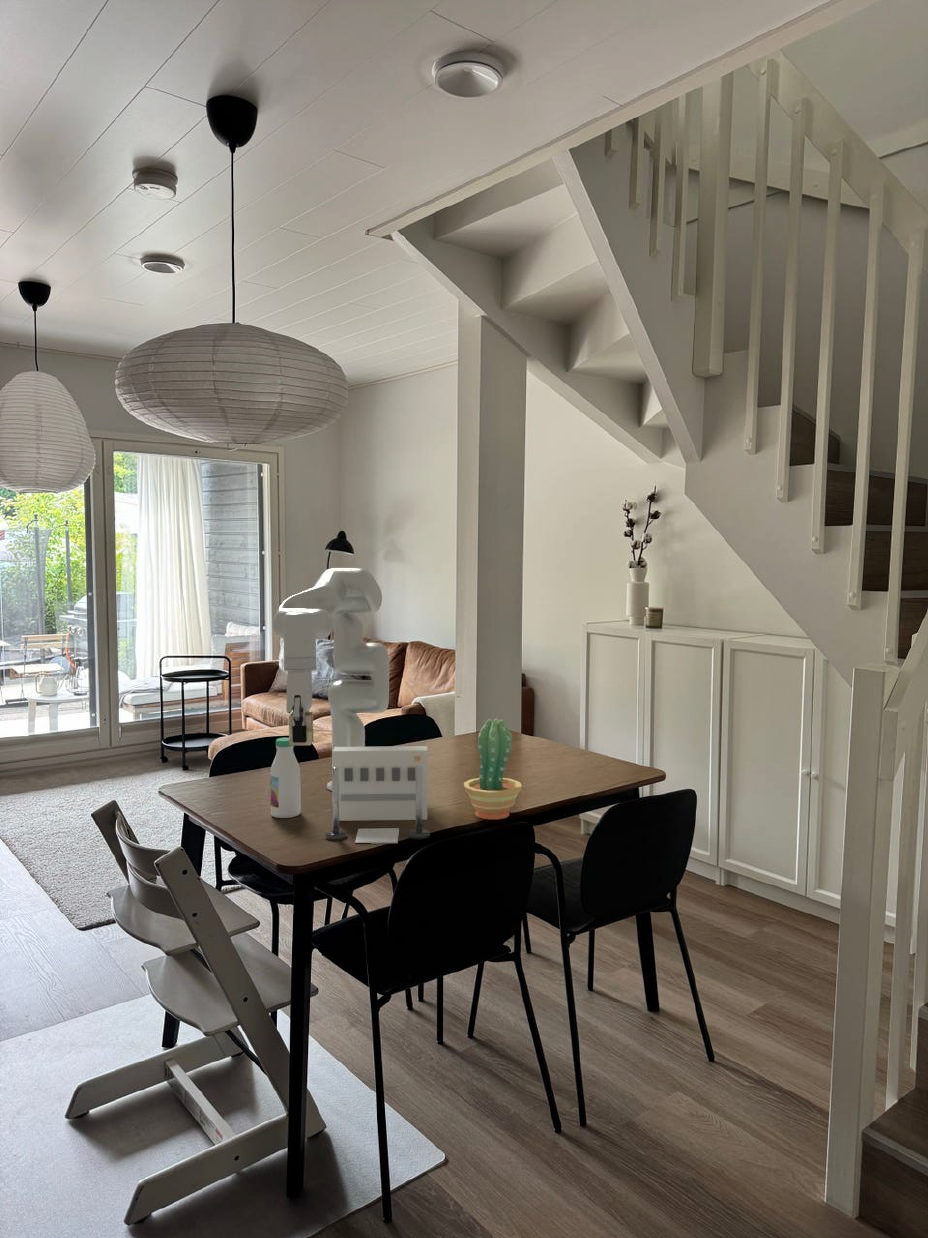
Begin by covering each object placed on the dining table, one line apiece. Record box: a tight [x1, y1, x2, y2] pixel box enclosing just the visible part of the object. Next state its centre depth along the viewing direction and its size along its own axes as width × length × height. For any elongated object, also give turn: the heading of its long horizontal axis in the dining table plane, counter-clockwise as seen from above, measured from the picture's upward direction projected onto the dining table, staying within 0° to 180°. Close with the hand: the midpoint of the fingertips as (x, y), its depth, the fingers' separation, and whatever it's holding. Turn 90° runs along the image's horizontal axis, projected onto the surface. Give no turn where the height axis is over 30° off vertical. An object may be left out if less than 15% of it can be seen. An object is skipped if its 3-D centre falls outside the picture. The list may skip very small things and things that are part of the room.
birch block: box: [288, 711, 314, 746], centre depth 205 cm, size 5×5×7 cm
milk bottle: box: [269, 737, 302, 819], centre depth 224 cm, size 8×8×20 cm
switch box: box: [333, 745, 429, 822], centre depth 222 cm, size 6×24×18 cm, turn 92°
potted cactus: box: [463, 718, 523, 820], centre depth 224 cm, size 15×15×25 cm
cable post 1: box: [324, 766, 347, 841], centre depth 206 cm, size 5×5×17 cm
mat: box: [354, 827, 400, 845], centre depth 207 cm, size 10×10×1 cm
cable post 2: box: [408, 766, 431, 840], centre depth 207 cm, size 5×5×17 cm
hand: (301, 738), depth 205 cm, fingers closed on birch block, 5 cm apart
